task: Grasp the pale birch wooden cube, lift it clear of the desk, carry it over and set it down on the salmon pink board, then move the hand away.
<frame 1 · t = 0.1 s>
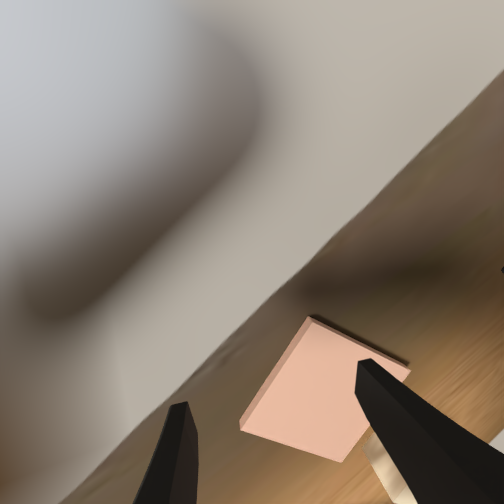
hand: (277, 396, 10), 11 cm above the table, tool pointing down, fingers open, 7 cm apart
birch cube: (390, 436, 28), on the table
salmon pink board: (323, 391, 24), on the table
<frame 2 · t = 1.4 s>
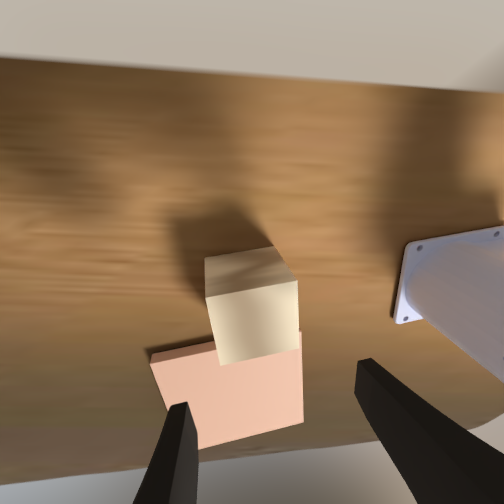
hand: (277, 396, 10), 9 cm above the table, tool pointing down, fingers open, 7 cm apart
birch cube: (243, 281, 19), on the table
salmon pink board: (236, 387, 23), on the table
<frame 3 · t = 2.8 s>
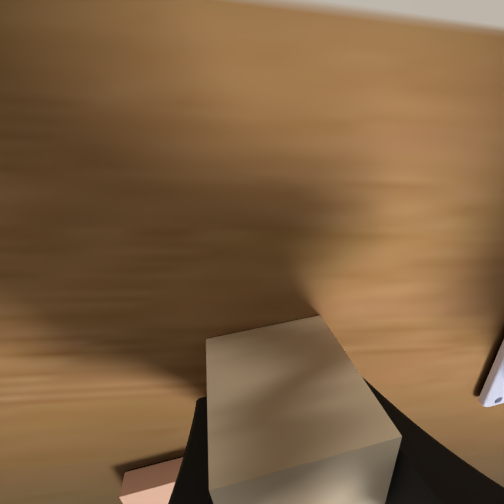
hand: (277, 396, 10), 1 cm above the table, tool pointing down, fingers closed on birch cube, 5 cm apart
birch cube: (269, 368, 12), on the table, touching gripper
salmon pink board: (251, 496, 16), on the table
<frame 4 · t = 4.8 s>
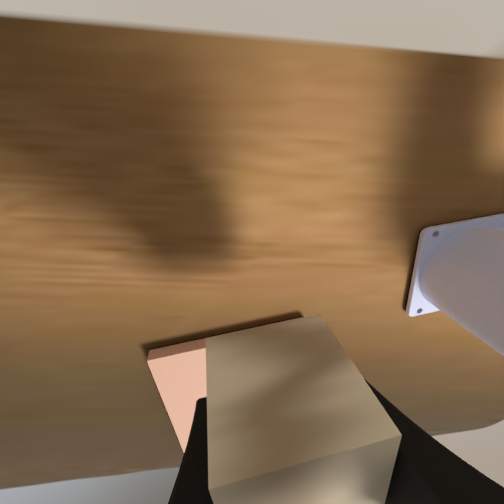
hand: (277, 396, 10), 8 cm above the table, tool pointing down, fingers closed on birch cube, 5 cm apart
birch cube: (268, 367, 12), point 7 cm above the table, touching gripper
salmon pink board: (239, 385, 22), on the table
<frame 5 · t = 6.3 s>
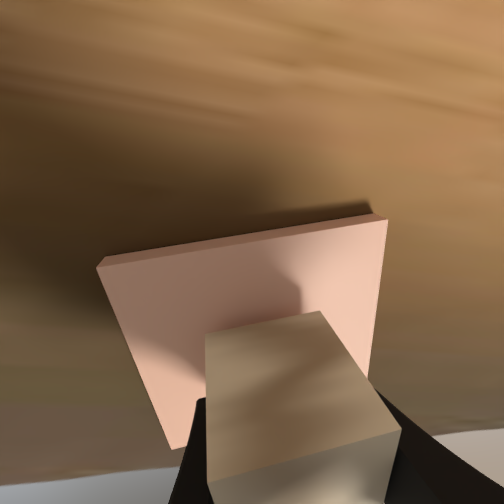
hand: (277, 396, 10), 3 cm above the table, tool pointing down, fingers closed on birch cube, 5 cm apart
birch cube: (268, 363, 12), point 2 cm above the table, touching gripper
salmon pink board: (260, 337, 14), on the table
when the fingers open (3 cm above the table, at t = 7.2 s): birch cube stays where it is, resting on salmon pink board.
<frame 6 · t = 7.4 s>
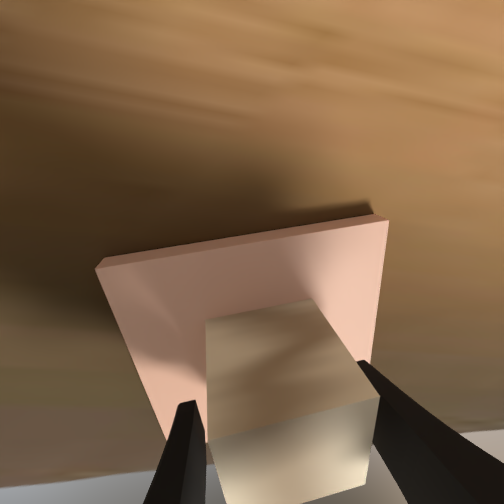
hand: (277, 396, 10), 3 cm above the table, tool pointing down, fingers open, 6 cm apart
birch cube: (264, 349, 13), point 1 cm above the table, touching salmon pink board
salmon pink board: (260, 338, 14), on the table
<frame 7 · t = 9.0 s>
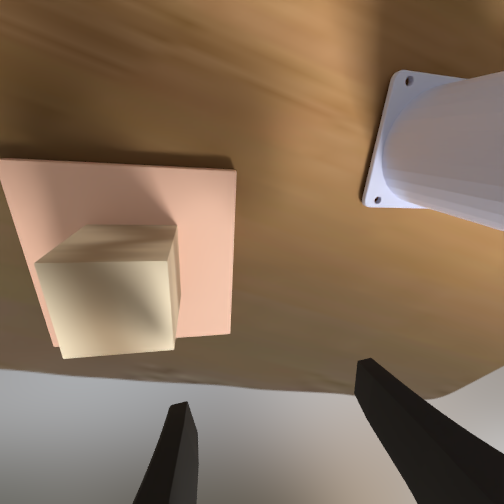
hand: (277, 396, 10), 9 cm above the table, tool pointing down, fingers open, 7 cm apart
birch cube: (138, 262, 16), point 1 cm above the table, touching salmon pink board
salmon pink board: (141, 259, 17), on the table
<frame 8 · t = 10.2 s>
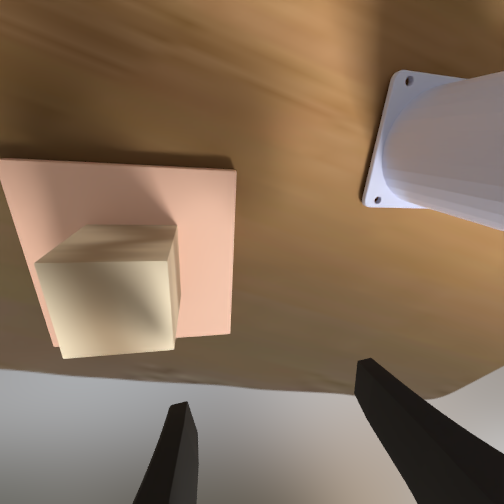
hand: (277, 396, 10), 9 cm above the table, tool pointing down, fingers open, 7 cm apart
birch cube: (138, 262, 16), point 1 cm above the table, touching salmon pink board
salmon pink board: (141, 259, 17), on the table
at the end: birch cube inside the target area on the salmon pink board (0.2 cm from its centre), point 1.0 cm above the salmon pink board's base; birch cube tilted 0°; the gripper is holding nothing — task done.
